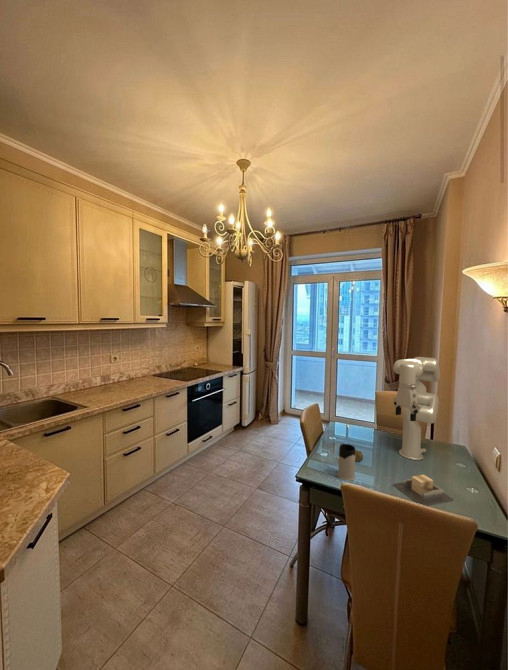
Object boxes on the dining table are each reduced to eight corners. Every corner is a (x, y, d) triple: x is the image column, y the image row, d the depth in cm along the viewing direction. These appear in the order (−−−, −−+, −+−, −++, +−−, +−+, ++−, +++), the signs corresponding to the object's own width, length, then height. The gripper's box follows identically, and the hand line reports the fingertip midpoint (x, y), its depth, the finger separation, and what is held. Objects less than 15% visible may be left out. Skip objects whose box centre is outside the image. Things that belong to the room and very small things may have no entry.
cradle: (422, 480, 135) (422, 473, 135) (453, 500, 120) (453, 492, 120) (392, 485, 130) (393, 477, 130) (421, 506, 115) (422, 498, 115)
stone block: (359, 463, 150) (359, 454, 150) (339, 456, 158) (340, 448, 158) (363, 460, 155) (363, 451, 154) (344, 453, 163) (344, 445, 162)
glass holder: (345, 482, 131) (347, 452, 131) (326, 467, 144) (328, 440, 144) (359, 478, 135) (360, 449, 134) (339, 465, 148) (340, 438, 147)
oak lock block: (422, 486, 128) (423, 474, 128) (432, 493, 124) (433, 480, 123) (411, 489, 126) (412, 476, 126) (420, 495, 122) (421, 482, 121)
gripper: (426, 390, 137) (425, 423, 137) (399, 382, 153) (398, 412, 154) (415, 390, 135) (413, 424, 135) (389, 383, 151) (387, 413, 152)
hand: (405, 417), depth 144 cm, fingers open, 9 cm apart
